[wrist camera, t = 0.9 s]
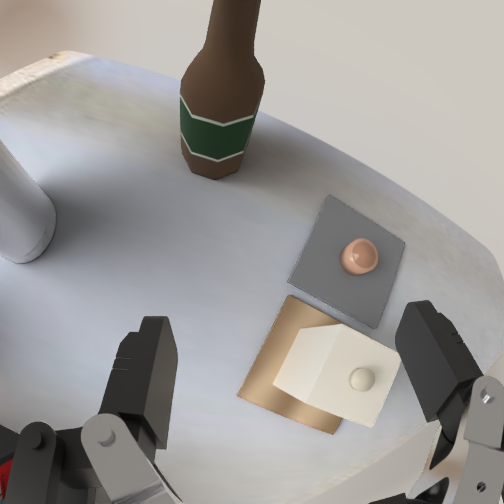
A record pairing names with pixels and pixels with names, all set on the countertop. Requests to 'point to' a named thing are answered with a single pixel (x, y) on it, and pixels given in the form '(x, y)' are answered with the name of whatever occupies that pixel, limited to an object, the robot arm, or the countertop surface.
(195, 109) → the beer bottle
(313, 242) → the slate coaster
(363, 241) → the ramekin
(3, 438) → the cleaning product box
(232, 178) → the countertop surface
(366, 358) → the knobbed cream block
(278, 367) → the cork mat
